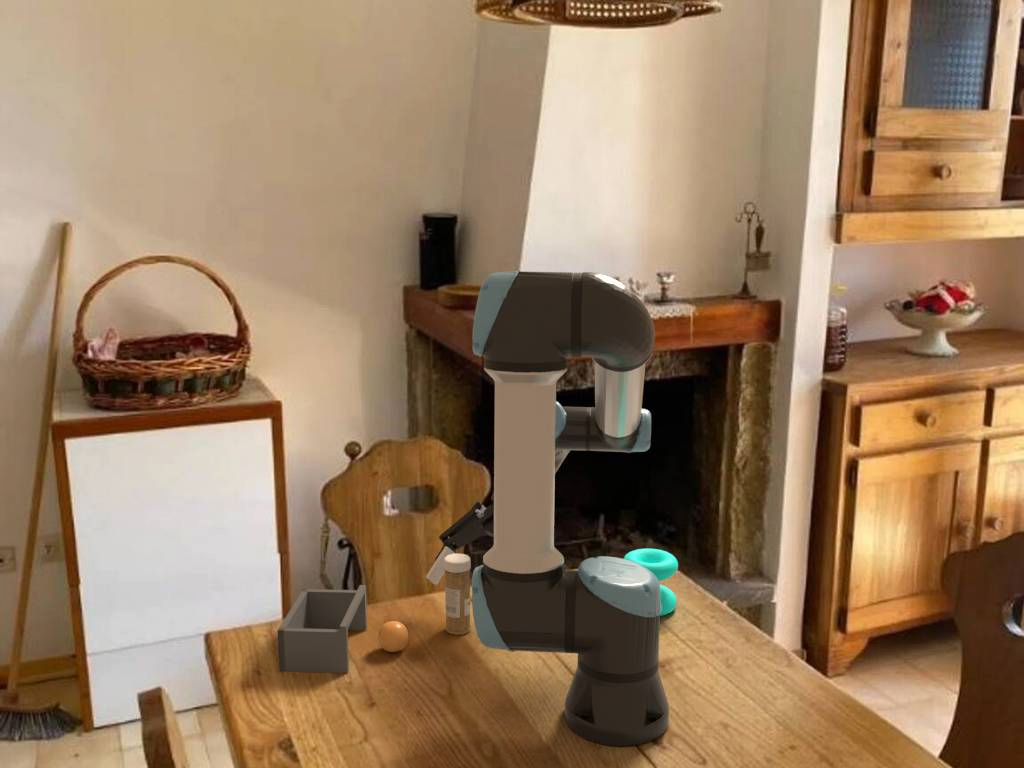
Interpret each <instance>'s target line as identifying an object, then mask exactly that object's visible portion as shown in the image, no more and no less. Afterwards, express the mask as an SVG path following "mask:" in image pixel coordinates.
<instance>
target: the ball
mask: <svg viewBox="0 0 1024 768" xmlns="http://www.w3.org/2000/svg"><path fill="white" fill-rule="evenodd" d="M377 641H378V643H379V646H380V647H381V648H383V650H385V651H386V652H389V653H396V652H399V651H401V650H402V649H405V648H404V647H406V645H407V644H408V641H409V632H408V629H407V627H406V626H405V625H404V624H403V623H402V622H400V621H396V620H391V621H387V622H385V623H384V624H383V625H382V626H381V627H380V629H379V631H378V634H377Z"/></svg>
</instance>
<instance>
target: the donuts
mask: <svg viewBox="0 0 1024 768" xmlns="http://www.w3.org/2000/svg"><path fill="white" fill-rule="evenodd" d="M623 559H626V560H629V561H633V562H635V563H638V564H640V565H642V566H643V567H645V568H647V569H648V570H650V571H651V572H652V573H653V574H654V575H655V576H656V578H657V579H658V581H659V582H660V581H665V580H668V579H670V578H672V577H673V576H674V575H675V574H676V573H677V571H678V569H679V562H678V559H677V558H676V557H675V556H674V555H673V554H672V553H670V552H668V551H666V550H662V549H657V548H637V549H635V550H634V549H633V550H632V551H629V552H628V553H626V554H625V556H624V557H623ZM660 601H661V605H662V612H661V614H660V617H662V616H665V615H668V613H669V614H670V613H672V612H673V611H674V610H675V608H676V607H677V596H676V595H675V593H674V592H673V591H672V590H671V589H670V588H668V587H667V586H665V585H662V584H660Z"/></svg>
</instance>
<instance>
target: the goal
mask: <svg viewBox="0 0 1024 768" xmlns="http://www.w3.org/2000/svg"><path fill="white" fill-rule="evenodd" d="M367 608H368V607H367V586H366V584H360V585H359V586H358V588H357V590H356V589H318V588H317V589H314V588H313V589H312V588H311V589H310V588H304V589H302V591H301V592H300V594H299V595H298V596H297V598H296V600H295V602H294V603H293V605H292V607H291V608H290V610H289V611H288V613H287V615H286V616H285V618H284V619H283V620H282V622H281V624H280V626H279V627H278V629H277V631H276V634H277V651H278V671H279V672H290V673H291V672H292V673H293V672H294V673H296V672H297V673H329V674H330V673H332V674H333V673H334V674H335V673H337V674H348V673H349V670H350V664H349V663H350V661H349V660H350V659H349V632H348V631H367V629H368V616H367V615H368V613H367V611H368V609H367Z"/></svg>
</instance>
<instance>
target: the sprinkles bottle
mask: <svg viewBox="0 0 1024 768" xmlns="http://www.w3.org/2000/svg"><path fill="white" fill-rule="evenodd" d="M471 562H472V561H471V557H470V556H469V555H468V554H466V553H465V554H464V553H456V554H451V555H448V556H446V557H445V559H444V569H445V573H444V575H445V579H444V581H445V584H444V593H445V594H444V596H445V597H444V598H445V599H444V600H445V601H444V603H445V621H446V622H445V623H446V624H445V625H446V626H445V631H446V632H447V633H449V634H450V635H454V636H460V635H461V636H462V635H465V634H468V633H469V632H470V631H471V630H472V624H471V607H472V606H471V585H470V584H471V583H470V582H471V581H470V580H471V579H470V573H471V572H470V570H471V568H472V566H471Z"/></svg>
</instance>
